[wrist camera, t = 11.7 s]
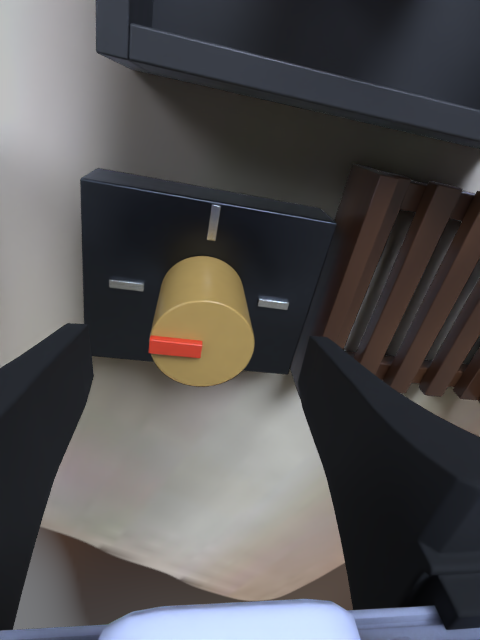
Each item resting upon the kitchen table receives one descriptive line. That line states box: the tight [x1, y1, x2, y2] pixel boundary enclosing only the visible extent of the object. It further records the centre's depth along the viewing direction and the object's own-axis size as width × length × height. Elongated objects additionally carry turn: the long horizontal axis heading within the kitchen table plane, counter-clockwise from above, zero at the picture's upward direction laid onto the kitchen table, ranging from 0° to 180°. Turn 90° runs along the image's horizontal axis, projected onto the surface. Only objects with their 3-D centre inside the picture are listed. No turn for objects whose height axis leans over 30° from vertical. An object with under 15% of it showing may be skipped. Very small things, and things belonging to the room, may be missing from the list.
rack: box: [290, 164, 480, 402], centre depth 19 cm, size 12×11×3 cm
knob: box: [149, 256, 254, 387], centre depth 14 cm, size 4×4×4 cm
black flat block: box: [80, 168, 337, 374], centre depth 17 cm, size 10×8×3 cm
